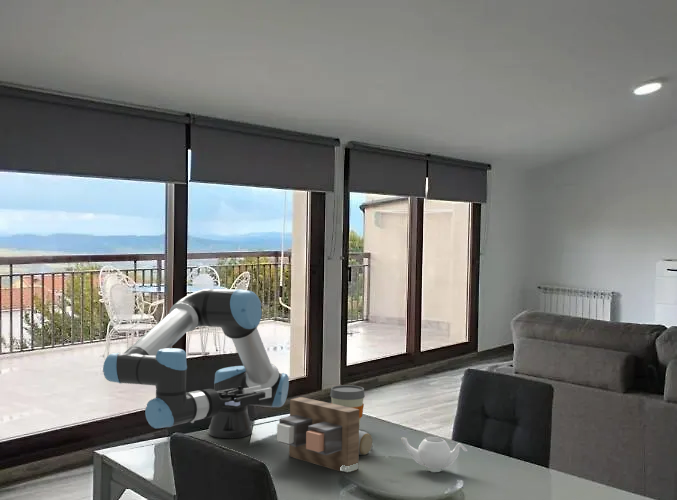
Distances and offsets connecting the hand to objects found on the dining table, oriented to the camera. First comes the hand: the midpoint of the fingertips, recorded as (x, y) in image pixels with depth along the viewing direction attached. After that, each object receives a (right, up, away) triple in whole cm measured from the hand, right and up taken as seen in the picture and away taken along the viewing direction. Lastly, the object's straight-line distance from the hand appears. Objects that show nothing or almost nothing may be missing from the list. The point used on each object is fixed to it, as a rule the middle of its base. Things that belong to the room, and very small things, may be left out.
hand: (265, 391), depth 200 cm
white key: (+6, -17, +7) cm, 19 cm away
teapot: (+50, -25, +5) cm, 56 cm away
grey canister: (+28, -25, +23) cm, 44 cm away
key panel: (+14, -24, +8) cm, 29 cm away
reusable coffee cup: (+24, -24, +49) cm, 60 cm away
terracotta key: (+15, -17, 0) cm, 23 cm away
